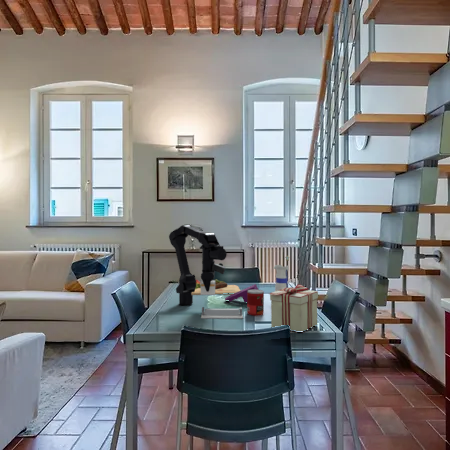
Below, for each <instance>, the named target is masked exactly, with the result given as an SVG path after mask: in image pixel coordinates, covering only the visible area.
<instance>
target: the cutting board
mask: <svg viewBox="0 0 450 450" xmlns="http://www.w3.org/2000/svg"><path fill="white" fill-rule="evenodd" d="M214 281H215V294H223V293H236V292H239V291H241V290H242V289H240V287H239V286H238V285H235V284H228V283H226V282H225V281H224V280H218V279H217V278H216V279H215V278H214ZM192 295H193V296H196V295H197V296H200V295H201V281H200V280H198V279H196V288H195V292H192ZM223 295H224V294H223ZM201 296H202V295H201Z"/></svg>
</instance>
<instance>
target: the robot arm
mask: <svg viewBox="0 0 450 450" xmlns="http://www.w3.org/2000/svg"><path fill="white" fill-rule="evenodd" d="M169 233H170V234H169V235H168V238H169V242H170V245H171V246H172V247H173V248H174V250H175V254H176V260H177V264H178V268H179V272H180V273H179V274H180V276H179V279H178V282H179V283H178V285H177V287H176V288H175V292H176V294H178V295H179V298H178V302H179V303H178V306H192V305H193V302H194V297H193V296H194V295H192V292H195V288H196V280H197V279H196V276H195V274H192V273H191V270H190V267H189V263H188V258H187V257H188V256H187V253H186V249H185V245H186V242H187V240H186V238H188V237H189V236H190V237H192V238H194V239H196V240H197V242H198V243H199V244H201V245H200V246H199V248H198V249H200V250H201V251H202V253H201V254H202V256H201V264H202V266H201V267H202V268H201V273H200V280H202V281H203V284H204V286H205V289H206V291H207V292H209V289H210V283H211V281H212V280H213V281H214V280H215V273H219V274H221V275H224V274H225V271H226V267H225V266H224V263H222V262H219V263H215V260H216V261H224V260H225V259H226V258H227V256H228V253H227V251H226V250H225V248H224V245H221V244H220V242H219V241H218V238H217V236H216V234H215V233H214V232H207V231H202V230H199V229H197V228H195V227H192V226H191V225H190V224H182V225H181V226H179V227H178V228H176V229H173V231H171V232H169Z"/></svg>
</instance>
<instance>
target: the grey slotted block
mask: <svg viewBox="0 0 450 450" xmlns="http://www.w3.org/2000/svg"><path fill="white" fill-rule="evenodd" d="M200 280H201V281H200V284H201V296H203V295H205V296H210V295H211V296H216V295H215V280H214V279H213V280H212V281H211V283H210V289H209V292H207V291H206V289H205V286H204V284H203V281H202V279H200Z"/></svg>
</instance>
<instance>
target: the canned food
mask: <svg viewBox="0 0 450 450" xmlns="http://www.w3.org/2000/svg"><path fill="white" fill-rule="evenodd" d="M264 294H265V291H264V290H261V289H258V290H257V289H252V290H248V292H247V304H246V307H247V308H246V310H247V311H246V313H247V314H248V315H250V316H252V317H253V316H254V317H257V316H263V315H264V312H265V311H264V307H265V306H264V305H265V302H264V301H265V297H264V296H265V295H264Z"/></svg>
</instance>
